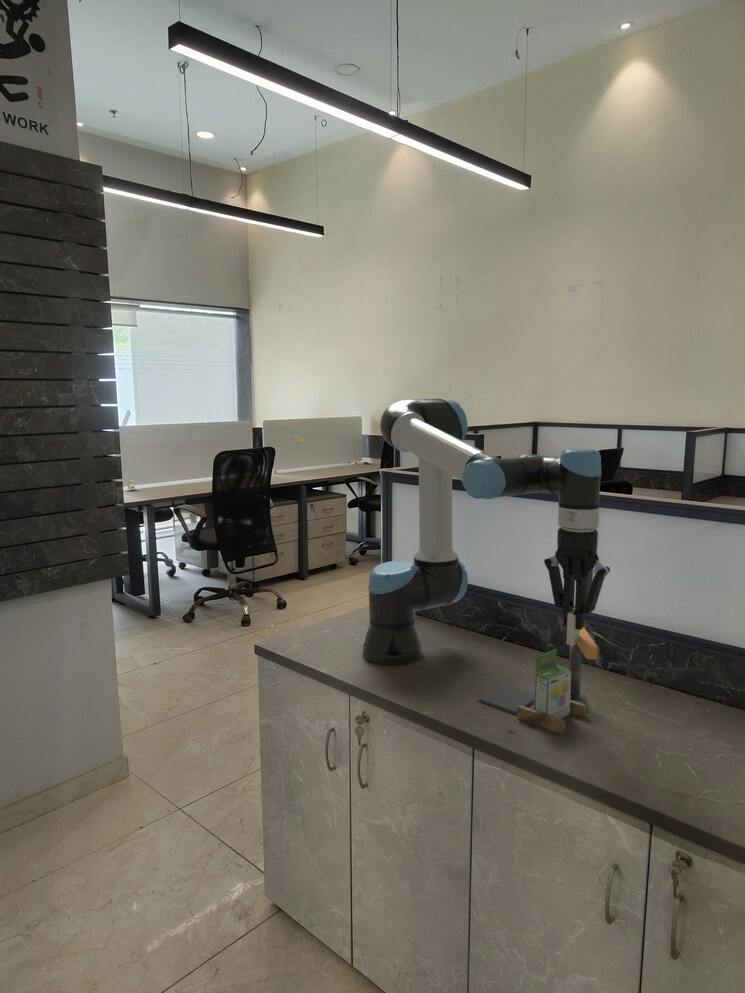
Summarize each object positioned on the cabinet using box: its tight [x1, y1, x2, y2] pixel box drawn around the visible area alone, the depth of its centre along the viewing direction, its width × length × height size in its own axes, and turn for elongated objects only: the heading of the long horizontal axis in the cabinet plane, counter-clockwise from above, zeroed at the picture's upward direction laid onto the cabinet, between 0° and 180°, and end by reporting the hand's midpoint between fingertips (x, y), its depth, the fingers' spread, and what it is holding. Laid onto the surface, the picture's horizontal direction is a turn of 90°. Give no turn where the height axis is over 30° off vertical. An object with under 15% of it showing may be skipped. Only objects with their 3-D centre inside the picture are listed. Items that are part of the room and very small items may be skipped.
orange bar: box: [577, 621, 599, 660], centre depth 130 cm, size 15×4×3 cm, turn 175°
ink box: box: [533, 648, 571, 720], centre depth 130 cm, size 7×4×13 cm, turn 126°
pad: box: [478, 683, 534, 715], centre depth 139 cm, size 9×10×1 cm
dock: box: [516, 644, 587, 736], centre depth 133 cm, size 10×18×14 cm, turn 137°
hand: (572, 643), depth 129 cm, fingers closed
